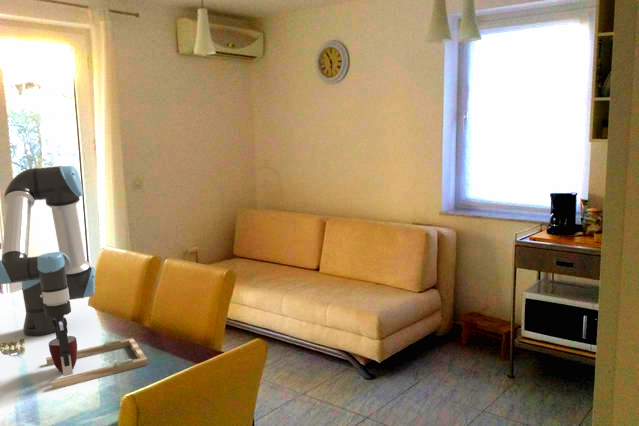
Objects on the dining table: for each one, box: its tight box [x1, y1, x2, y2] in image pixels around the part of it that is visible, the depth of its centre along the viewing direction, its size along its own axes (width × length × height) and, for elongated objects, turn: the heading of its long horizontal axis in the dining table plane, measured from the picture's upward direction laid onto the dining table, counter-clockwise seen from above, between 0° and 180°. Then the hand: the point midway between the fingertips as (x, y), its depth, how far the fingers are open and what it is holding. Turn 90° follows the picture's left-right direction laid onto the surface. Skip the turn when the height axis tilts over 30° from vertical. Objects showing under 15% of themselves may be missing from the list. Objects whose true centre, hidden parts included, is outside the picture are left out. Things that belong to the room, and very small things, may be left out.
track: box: [45, 337, 149, 390], centre depth 184 cm, size 23×28×3 cm
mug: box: [48, 335, 78, 374], centre depth 179 cm, size 11×8×10 cm
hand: (66, 368), depth 180 cm, fingers closed on mug, 10 cm apart
